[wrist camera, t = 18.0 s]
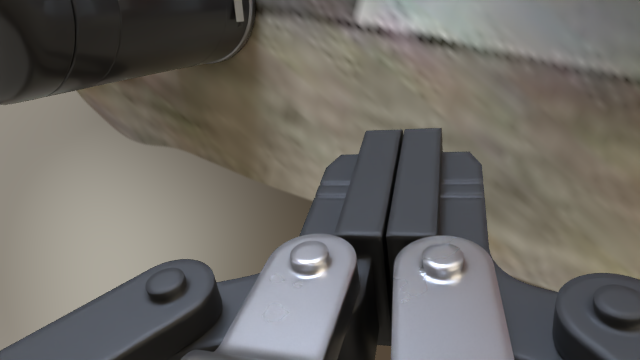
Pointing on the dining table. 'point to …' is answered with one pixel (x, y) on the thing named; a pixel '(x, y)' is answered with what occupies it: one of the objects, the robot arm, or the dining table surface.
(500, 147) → the dining table surface
